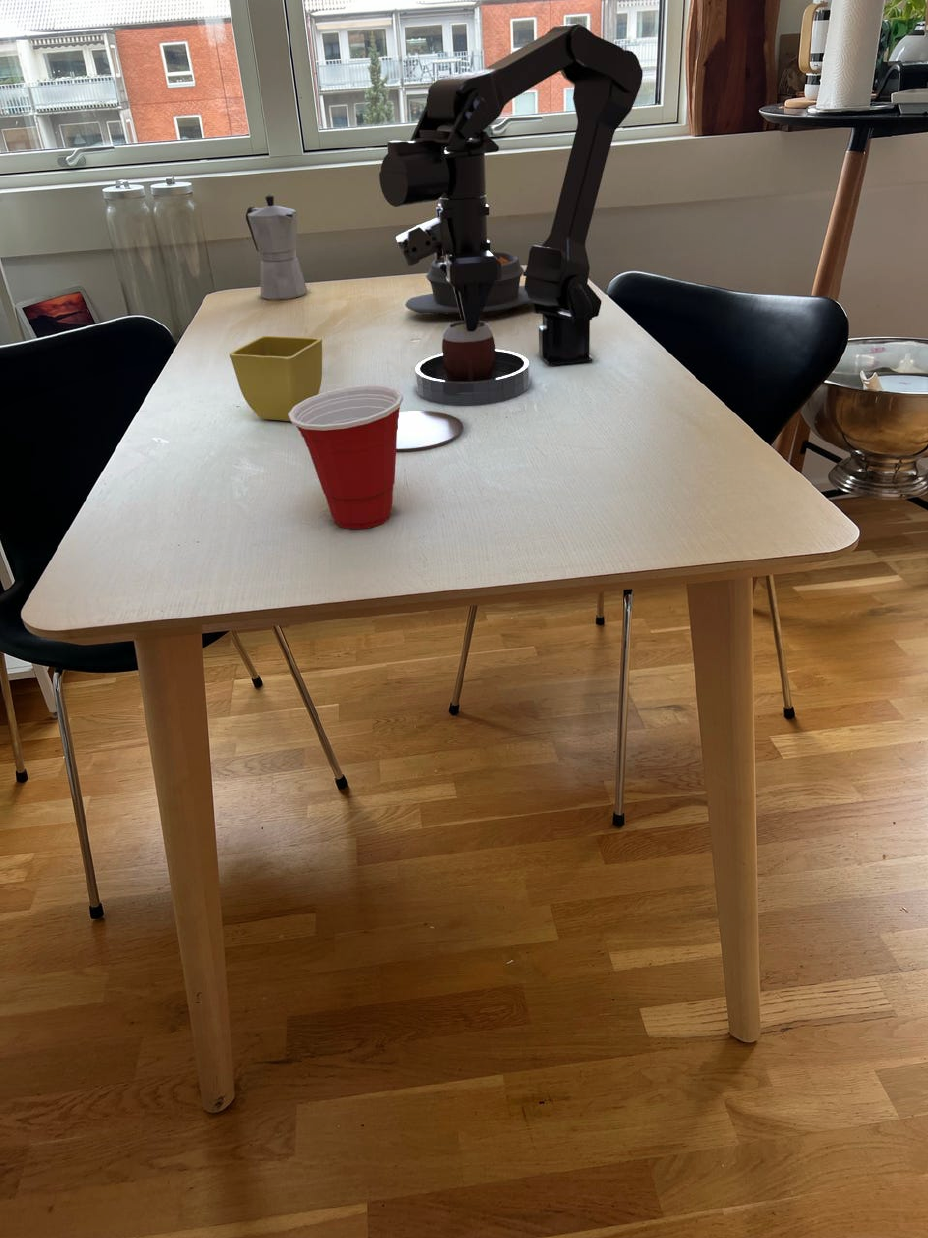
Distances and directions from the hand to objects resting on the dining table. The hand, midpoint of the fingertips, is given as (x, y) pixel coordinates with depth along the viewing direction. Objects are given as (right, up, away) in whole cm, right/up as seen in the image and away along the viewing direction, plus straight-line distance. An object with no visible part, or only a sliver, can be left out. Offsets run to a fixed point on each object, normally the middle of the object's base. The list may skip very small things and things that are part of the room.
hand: (468, 325), depth 122 cm
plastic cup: (-11, -29, -29) cm, 42 cm away
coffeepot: (-37, +26, +62) cm, 77 cm away
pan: (+1, -7, +4) cm, 8 cm away
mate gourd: (+1, -7, +4) cm, 8 cm away
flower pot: (-23, -12, -1) cm, 27 cm away
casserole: (+2, +16, +41) cm, 44 cm away
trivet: (-7, -16, -9) cm, 20 cm away
